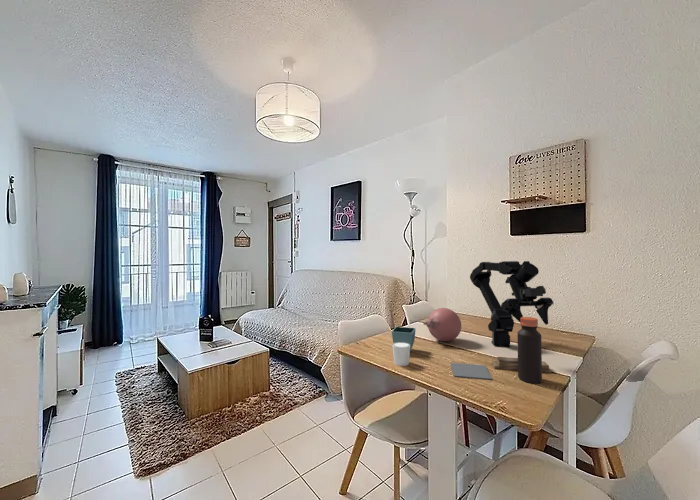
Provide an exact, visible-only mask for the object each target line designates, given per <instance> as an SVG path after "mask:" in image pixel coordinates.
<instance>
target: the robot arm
mask: <svg viewBox="0 0 700 500" xmlns="http://www.w3.org/2000/svg"><path fill="white" fill-rule="evenodd" d="M492 271H494V272H495V271H496V272H499V274H501V275H507V276H506V279H505V284H509V285H510V289H511V291H512V292H511V296H512V298H506V299H505V300H504V301H502V303H501V304H500V302H499V300H498V298H497V296H496V294H495V293H494V291H493V288H492V287H491V285H490V282H491V276H492ZM538 274H539V268H538V267H537V266H536V265H534V264H532V263H531V262H530V261H529V260H525V261H523V262H522V263H520V261H517V260H516V261H515V260H512V261H511V260H506V261H505V260H504V261H500V262H491V261H481V262H480V263H479V264H478V266H476V267H475V268H474V269H473V270H472V271H471V273H470V275H469V280H470V281H471V283H472V284H473V286H475V287H476V288H478V289H479V291H480V292H481V294H482V296H483V299H484V301H485V303H486V305H487V307H488V309H489V310H490V312H491V315H490V322H489V323H488V324H487V327H488V331H490V332H491V344H492V345H493V346H494V347H504V348H505V347H506V348H510V347H511V335H510V333H511V332H512V333H513V330H514V326H515V321H514V318H515V319H516V320H517V321H518V322H519V323H520V318H521V317H524V315H523V313H522V310H521V307H534V309H536V310H535V311H536V313H537V315H538V317H540V319H541V320H542V321H543V323H544V324H545V325H546V326H547V325H549V313H548V312H549V308H550V307H552V305H554V301H553V299H552V298H551V297H544V295H545V294H546V293H547V291H546V288H545V286H544V285H539V286H536V287H531V286H528V284H527V283H529V282H530V281H532V280H533V279H534V278H535V277H537V275H538ZM508 275H509V276H508ZM513 297H514V298H513ZM538 297H540V298H538ZM537 298H538V299H537Z"/></svg>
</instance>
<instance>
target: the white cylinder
mask: <svg viewBox="0 0 700 500" xmlns="http://www.w3.org/2000/svg"><path fill="white" fill-rule="evenodd" d="M391 346H392V354H393V363H394V364H395V366H396V365H397V366H399V367H404V366H405V367H406V366H408V365H409V364H410V356H411V355H410V354H411V350H410V344H408V343H404V342H397V343H393V342H392V345H391Z"/></svg>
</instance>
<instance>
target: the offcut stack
mask: <svg viewBox="0 0 700 500" xmlns="http://www.w3.org/2000/svg"><path fill="white" fill-rule="evenodd" d="M491 365H492V367H493V368H494V370H506V371H507V370H509V371H510V370H511V371H518V357H509V356H508V357H506V356H496V360H491ZM542 373H547V374H548V373H549V374H552V369H551V368H550V365H549V364H548V363H547V362H546V361H542Z"/></svg>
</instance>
